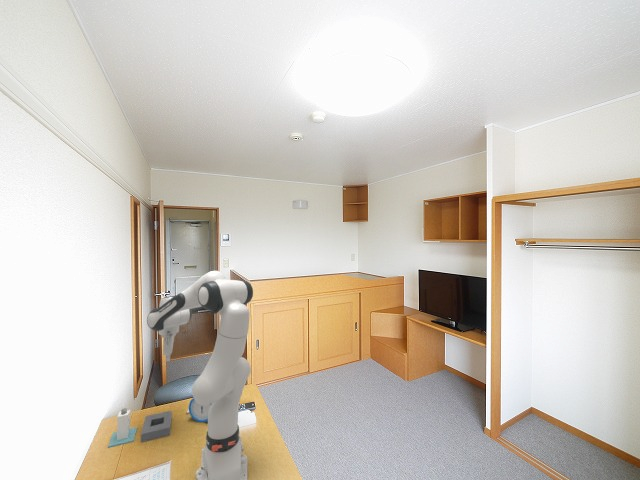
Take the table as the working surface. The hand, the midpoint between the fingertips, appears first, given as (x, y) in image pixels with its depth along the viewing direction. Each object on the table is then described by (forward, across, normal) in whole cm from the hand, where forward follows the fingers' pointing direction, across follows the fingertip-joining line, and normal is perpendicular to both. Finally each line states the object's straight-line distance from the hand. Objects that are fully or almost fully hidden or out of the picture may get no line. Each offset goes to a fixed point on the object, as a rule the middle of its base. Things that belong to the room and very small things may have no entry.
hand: (168, 357), depth 136 cm
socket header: (+30, -6, +4) cm, 31 cm away
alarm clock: (+31, -6, -16) cm, 35 cm away
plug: (+29, -6, +17) cm, 34 cm away
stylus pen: (+31, +7, -12) cm, 34 cm away
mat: (+30, -6, +17) cm, 35 cm away
